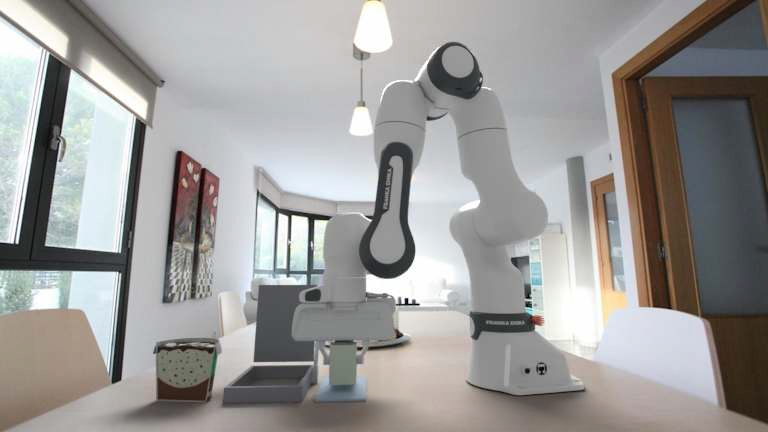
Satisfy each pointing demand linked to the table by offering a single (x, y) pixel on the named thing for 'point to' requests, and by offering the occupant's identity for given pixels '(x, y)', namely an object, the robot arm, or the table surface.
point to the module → (343, 363)
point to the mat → (342, 391)
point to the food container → (186, 369)
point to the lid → (279, 325)
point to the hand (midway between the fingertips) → (343, 364)
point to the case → (252, 394)
